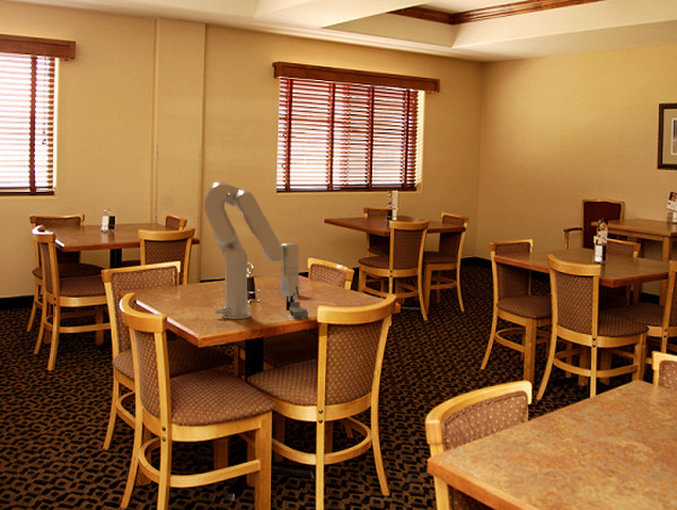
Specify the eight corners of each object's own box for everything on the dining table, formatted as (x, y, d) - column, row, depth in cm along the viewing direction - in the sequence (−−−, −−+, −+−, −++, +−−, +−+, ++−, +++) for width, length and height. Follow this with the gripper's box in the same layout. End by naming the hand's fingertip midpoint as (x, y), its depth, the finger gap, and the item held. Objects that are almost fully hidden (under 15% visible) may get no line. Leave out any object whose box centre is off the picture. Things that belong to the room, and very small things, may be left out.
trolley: (288, 314, 311) (288, 302, 310) (299, 313, 314) (299, 301, 313) (296, 317, 306) (296, 305, 305) (307, 316, 309) (307, 304, 308)
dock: (294, 319, 304) (294, 313, 303) (282, 315, 312) (282, 308, 311) (307, 317, 308) (307, 311, 307) (296, 313, 316) (296, 307, 315)
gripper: (274, 268, 315) (274, 308, 317) (291, 273, 303) (291, 314, 305) (288, 267, 319) (288, 306, 322) (306, 272, 307) (306, 312, 310)
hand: (290, 310), depth 314 cm, fingers closed
